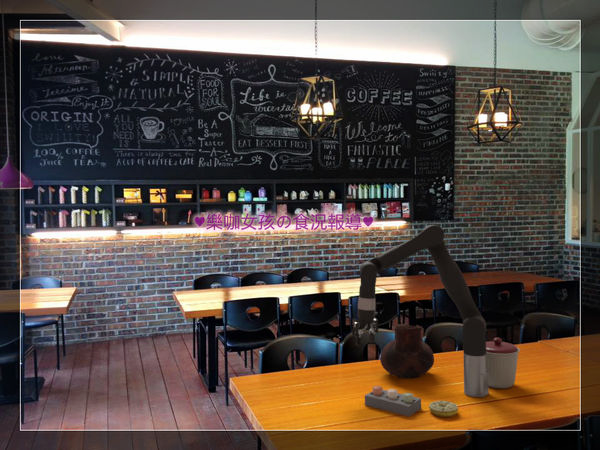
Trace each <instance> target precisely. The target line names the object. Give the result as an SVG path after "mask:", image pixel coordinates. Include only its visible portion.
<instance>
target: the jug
mask: <svg viewBox="0 0 600 450" xmlns="http://www.w3.org/2000/svg"><path fill="white" fill-rule="evenodd" d="M422 328H423V326H417V325H410V324H408V323H401V324H396V325H395V327H393V329H394V339H392V340H391V341H390V342H388V343H387V344H386V345H384V347H383V349H382V350H381V353H380V364H381V366H382V368H383V369H384V370H385V371H386V372H387V373H388V374H390V375H392V376H393V377H396V378H399V379H410V380H411V379H417V378H419V377H420V378H421V377H422V376H423V375H426V373H428V372H429V371H430V370H431V369H432V368H433V366H434V363H435V356H434V352H433V350H432V348H431V347H430V345H429V344H427V343H426V342H424V341H422V330H423V329H422Z"/></svg>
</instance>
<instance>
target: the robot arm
mask: <svg viewBox="0 0 600 450" xmlns="http://www.w3.org/2000/svg"><path fill="white" fill-rule="evenodd" d="M444 239H445V231H444V230H443V228H442V227H441V226H439V225H437V224H429V225H427V226H425V227H424V228H423V229H422V230H421V232H419V233H418V234H417V235H415V236H414V237H412V238H410V239H409V240H407V241H404V242H403V243H401V244H399V245H395V246H394V247H392V248H390V249H388V250H385V252H382V253H381V254H379V255H378V256H375V257H372V258H371V259H368V260H367V261H365V262H363V263H361V265H360V268H359V271H360V285H359V289H358V291H359V292H358V301H357V318H358V321H357V322H356V321H353V322H352V329H351V330H352V331H351V335H352V336H354V337H355V345H356V346H358V347H360V346H361V341H362V339H361V337H362V335H363V334H365V332H367V331H368V333H369V334H368V335H369V336H368V338H369V339H368V342H369V343H370V344H374V343H375V335H376V334H378V333H379V319H377V318H376V317H375V316H376V283H377V278H378V273H380V272H382V271H384V270H388V269H391V268H392V267H394V266H396V265H398V264H400V263H402V262H403V261H405V260H407V259H408V258H409V257H412V256H414V255H415V254H416V253H419V252H422V251H423V250H425V249H427V250H428V253H429V254H430V256H431V259H432V260H433V263H434V266H435V268H436V271H437V273H438V276H439V278H440V281H441V283H442V285H443V288H444V290H445V291H446V293H447V294H448V296H449V297H450V298H451V300H452V301H453V303H454V304H455V306H456V308H457V309H458V311H459V314H460V317H461V320H462V322H463V323H462V348H463V349H462V350H463V390H464V391H463V393H464V394H465V395H467V396H469V397H473V398H485V397H487V395H488V394H490V391H489V390H490V389H489V388H490V386H489V377H488V371H487V365H486V342H487V322H486V320H485V318H484V317H483V316H482V314H481V312H480V310H479V308H478V307H477V306H476V303H475V301H474V299H473V296H472V294H471V291H470V287H469V286H468V283H467V281H466V278H465V277H464V274H463V273H462V271H461V269H460V267H459V266H458V264H457V262H456V261H455V260H454V258H453V257H452V255H451V254H450V252H449V250H448V248H447V245H446V243H445V240H444Z"/></svg>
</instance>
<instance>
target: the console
mask: <svg viewBox="0 0 600 450" xmlns="http://www.w3.org/2000/svg"><path fill="white" fill-rule="evenodd" d="M387 391H388V390H387V389H384V388H382V395H381V396H377V395H373V390H372V391H370V392H369V393H366V394H365V395H364V405H365V406H366V407H367V406H368V407H371V408H375V409H379V410H383V411H386V412H390V413H394V414H398V415H401V416H404V417H411V416H412V415H414V414H415V413H417V412H418V411H419V410H421V409H422V398H419V397H416V396H413V403H411V404H410V403H405V402H403V394H404V393H401V392H400V393H399V392H398V398H397V399H395V400H393V399H389V398H388V395H387Z"/></svg>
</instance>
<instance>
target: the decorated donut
mask: <svg viewBox="0 0 600 450" xmlns="http://www.w3.org/2000/svg"><path fill="white" fill-rule="evenodd" d="M428 407H429V411H430V412H431V414H433V415H434V416H436V417H440V418H453V417H455V416H456V415H457V413H458V410H459V408H458V405H457V404H456V403H453V402H452V401H447V400H435V401H433V402H430V404H429V405H428Z"/></svg>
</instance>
